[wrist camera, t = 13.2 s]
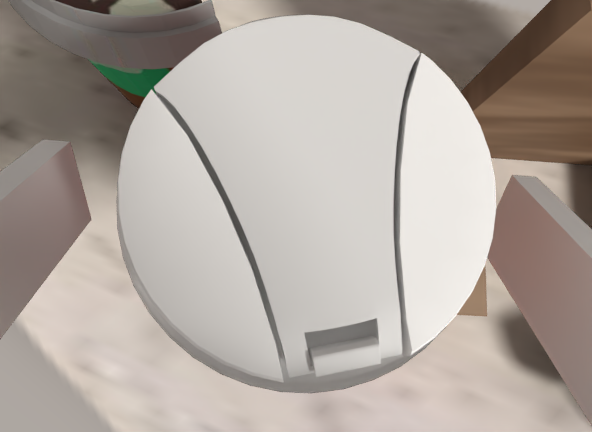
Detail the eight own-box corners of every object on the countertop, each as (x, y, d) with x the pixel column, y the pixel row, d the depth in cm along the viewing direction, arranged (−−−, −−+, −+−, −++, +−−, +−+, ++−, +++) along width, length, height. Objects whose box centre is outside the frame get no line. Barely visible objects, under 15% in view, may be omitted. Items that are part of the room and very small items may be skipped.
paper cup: (370, 308, 20) (579, 362, 6) (224, 336, 20) (110, 465, 6) (340, 167, 21) (463, -41, 8) (202, 189, 21) (66, 5, 7)
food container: (51, 7, 23) (-117, -203, 13) (147, -33, 24) (57, -259, 14) (145, 184, 21) (36, 98, 11) (243, 133, 22) (220, 14, 12)
